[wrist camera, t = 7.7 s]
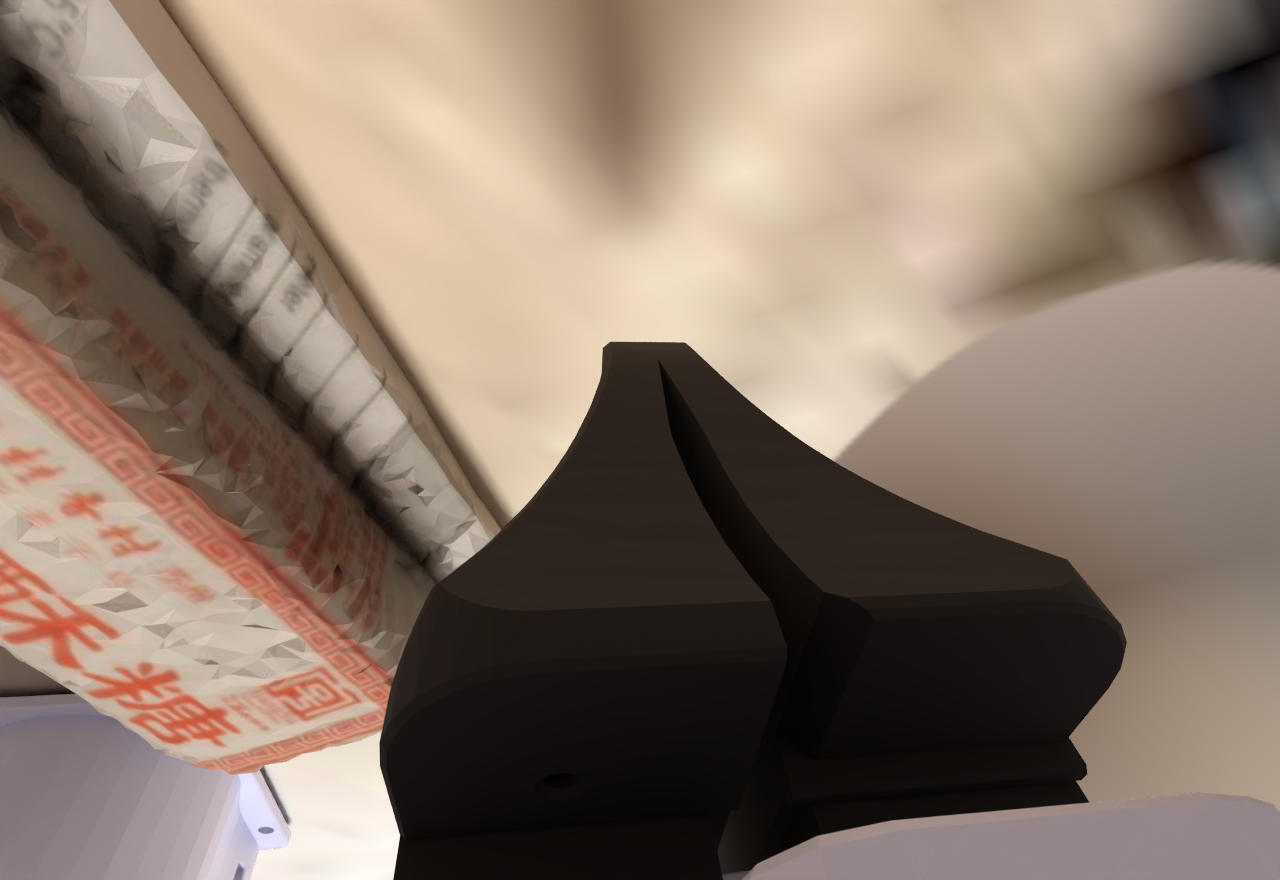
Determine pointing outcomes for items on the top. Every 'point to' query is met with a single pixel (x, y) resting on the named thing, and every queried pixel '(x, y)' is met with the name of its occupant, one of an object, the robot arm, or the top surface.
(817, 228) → the top surface
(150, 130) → the packaged product
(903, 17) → the top surface
